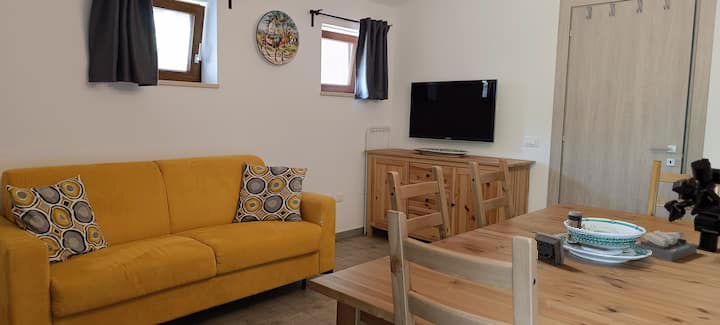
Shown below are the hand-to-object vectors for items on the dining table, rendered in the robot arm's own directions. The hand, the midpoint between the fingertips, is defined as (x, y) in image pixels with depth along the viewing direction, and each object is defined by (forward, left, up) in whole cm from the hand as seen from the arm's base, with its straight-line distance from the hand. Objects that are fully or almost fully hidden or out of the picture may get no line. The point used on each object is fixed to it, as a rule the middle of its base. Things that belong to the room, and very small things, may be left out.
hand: (680, 218), depth 166 cm
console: (-4, -5, -14) cm, 16 cm away
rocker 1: (+2, -6, -9) cm, 11 cm away
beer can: (+16, -29, -15) cm, 36 cm away
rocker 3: (-10, -6, -9) cm, 15 cm away
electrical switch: (+45, -20, -15) cm, 51 cm away
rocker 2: (-4, -6, -9) cm, 12 cm away
